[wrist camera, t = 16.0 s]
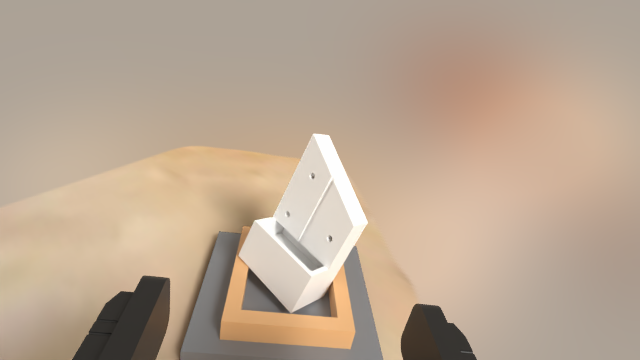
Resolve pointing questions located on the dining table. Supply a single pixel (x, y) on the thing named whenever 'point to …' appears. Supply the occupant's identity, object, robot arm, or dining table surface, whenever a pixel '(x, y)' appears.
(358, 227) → the white angled block
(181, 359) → the plate
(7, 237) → the dining table surface
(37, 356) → the dining table surface
